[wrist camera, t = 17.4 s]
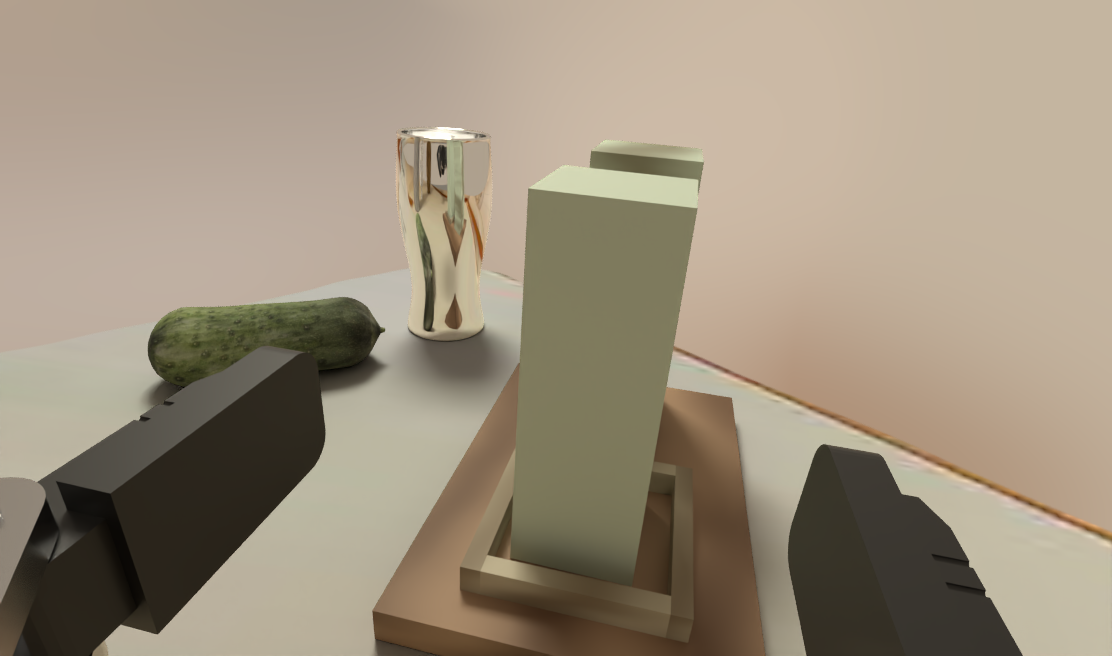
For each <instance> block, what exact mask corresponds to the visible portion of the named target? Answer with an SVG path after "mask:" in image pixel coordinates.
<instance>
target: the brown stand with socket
mask: <svg viewBox="0 0 1112 656" xmlns="http://www.w3.org/2000/svg"><path fill="white" fill-rule="evenodd" d="M703 164H704V160H703V154H702V149H698V148H687V147H677V146H667V145H656V144H646V143H636V142H625V141H615V140H604V141H603V142H602V143H601V144H599V145H598V146H597V147H595V148H594V149H593V150H592V151H591V159H590V168H595V169H604V170H614V171H623V172H632V173H641V174H650V175H659V176H669V177H678V178H687V179H696V180H698V193H699V187H700V181H701V175H702V170H703ZM519 368H520V363H519V364H518V365H517V367H516V369H515V370H514V372H513V374H512V375H511V377H510V379H509V381H508V382H507V384H506V386H505V387H504V389H503V391H502V392H501V394H500V396H499V397H498V399H497V401H496V403H495V404H494V406H493V408H492V409H491V411H490V413H489V414H488V416H487V418H486V419H485V421H484V423H483V425H482V426H481V428H480V430H479V431H478V433H477V435H476V436H475V438H474V440H473V441H472V443H471V445H470V447H469V448H468V450H467V452H466V453H465V455H464V457H463V458H462V460H461V462H460V463H459V465H458V467H457V468H456V470H455V472H454V474H453V475H452V477H451V479H450V480H449V482H448V484H447V485H446V487H445V489H444V490H443V492H442V494H441V496H440V497H439V499H438V501H437V502H436V504H435V506H434V507H433V509H432V511H431V512H430V514H429V516H428V518H427V519H426V521H425V523H424V524H423V526H422V528H421V529H420V531H419V533H418V534H417V536H416V538H415V540H414V541H413V543H412V545H411V546H410V548H409V550H408V551H407V553H406V555H405V556H404V558H403V560H402V562H401V563H400V565H399V567H398V568H397V570H396V572H395V573H394V575H393V577H392V578H391V580H390V582H389V584H388V585H387V587H386V589H385V590H384V592H383V594H382V595H381V597H380V599H379V600H378V602H377V604H376V606H375V607H374V609H373V623H374V634H375V639H377V640H381V641H385V642H389V643H393V644H397V645H401V646H405V647H409V648H413V649H417V650H421V651H424V652H428V653H432V654H436V655H440V656H765V649H764V642H763V634H762V626H761V619H760V611H759V603H758V596H757V588H756V580H755V573H754V565H753V557H752V550H751V542H750V534H749V527H748V519H747V511H746V504H745V496H744V488H743V480H742V473H741V465H740V457H739V450H738V442H737V434H736V427H735V419H734V411H733V404H732V398H729V397H723V396H717V395H711V394H705V393H699V392H693V391H686V390H680V389H674V388H668V387H666V392H665V398H664V404H663V410H662V415H661V421H660V427H659V433H658V438H657V444H656V450H655V456H654V461H653V467H652V473H651V479H650V484H649V490H648V496H647V502H646V507H645V513H644V519H643V525H642V530H641V536H640V542H639V548H638V553H637V559H636V565H635V571H634V576H633V582H632V587H631V586H627V585H623V584H618V583H614V582H610V581H606V580H601V579H597V578H593V577H589V576H585V575H580V574H576V573H572V572H568V571H563V570H559V569H555V568H551V567H547V566H542V565H538V564H534V563H530V562H526V561H521V560H517V559H513V558H510V550H511V529H512V509H513V489H514V469H515V449H516V429H517V409H518V388H519Z"/></svg>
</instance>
